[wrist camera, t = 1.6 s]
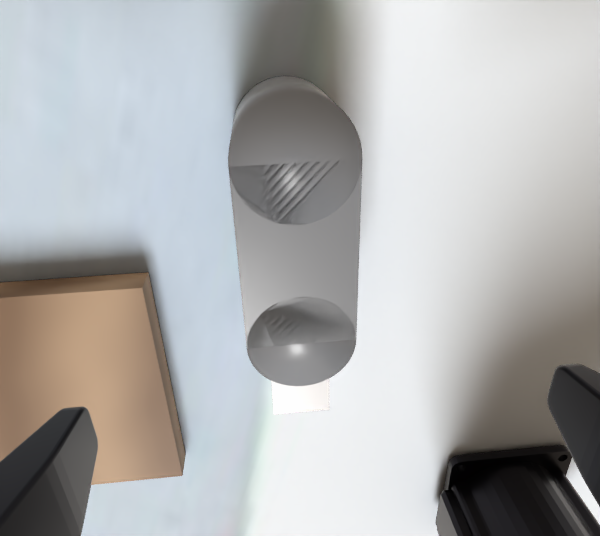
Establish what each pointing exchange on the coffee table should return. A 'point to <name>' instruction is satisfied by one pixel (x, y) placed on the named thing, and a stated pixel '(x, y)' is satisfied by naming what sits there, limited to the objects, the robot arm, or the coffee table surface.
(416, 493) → the coffee table surface
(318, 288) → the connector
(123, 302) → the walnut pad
